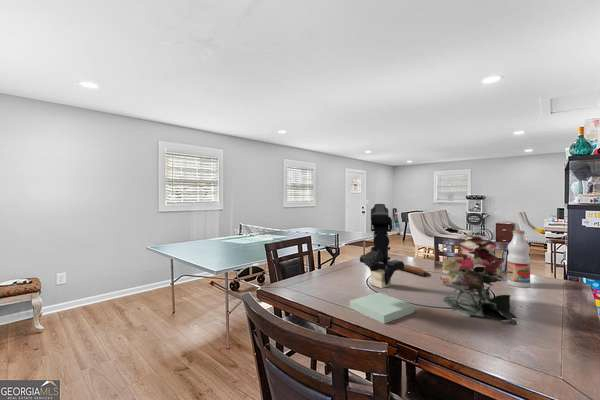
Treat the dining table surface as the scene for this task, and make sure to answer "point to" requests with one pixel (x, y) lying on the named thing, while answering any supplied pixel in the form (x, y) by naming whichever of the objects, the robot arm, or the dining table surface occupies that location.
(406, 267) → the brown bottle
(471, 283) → the rose bouquet
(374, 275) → the maple cube
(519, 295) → the dining table surface
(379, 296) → the platform
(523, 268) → the fruit juice
